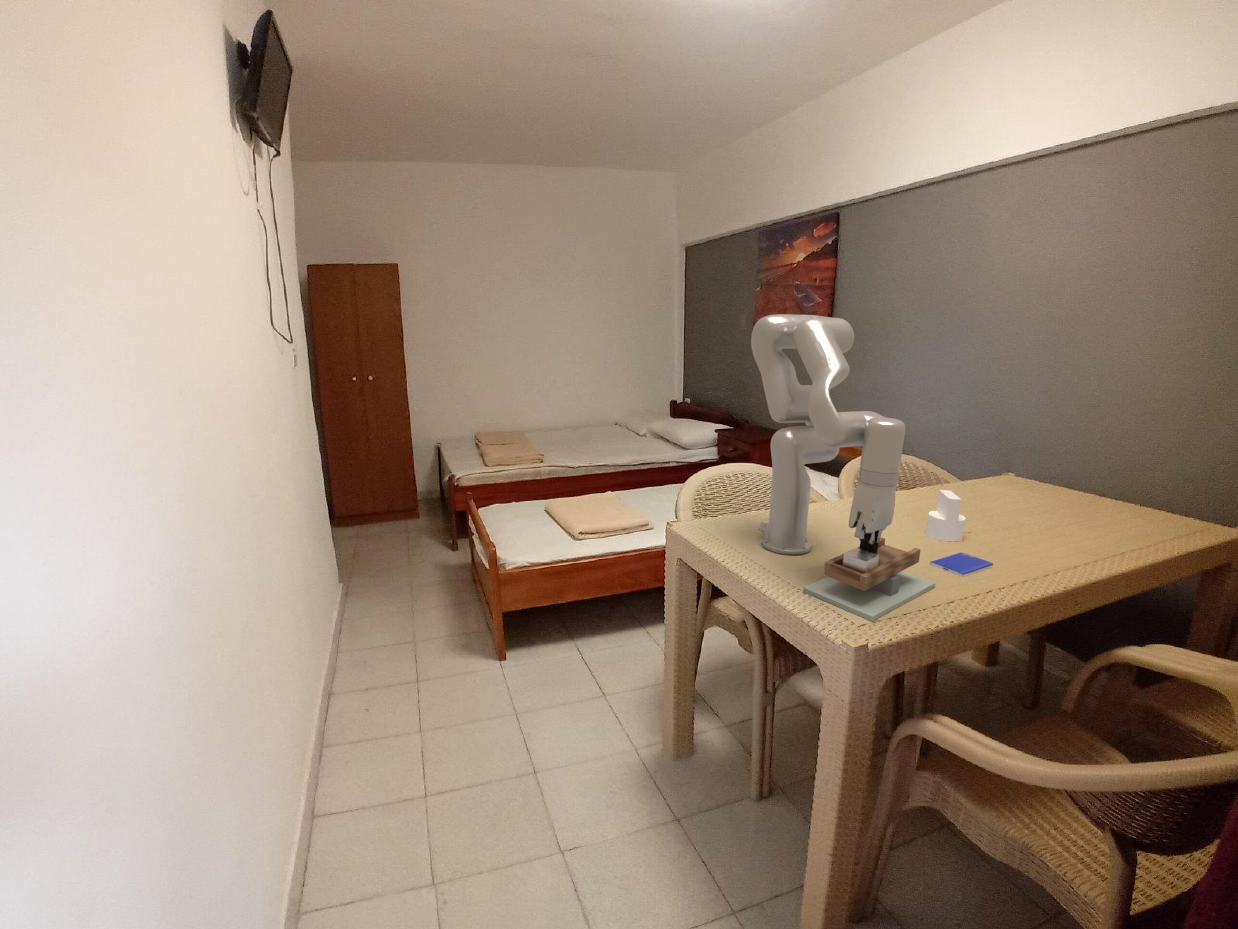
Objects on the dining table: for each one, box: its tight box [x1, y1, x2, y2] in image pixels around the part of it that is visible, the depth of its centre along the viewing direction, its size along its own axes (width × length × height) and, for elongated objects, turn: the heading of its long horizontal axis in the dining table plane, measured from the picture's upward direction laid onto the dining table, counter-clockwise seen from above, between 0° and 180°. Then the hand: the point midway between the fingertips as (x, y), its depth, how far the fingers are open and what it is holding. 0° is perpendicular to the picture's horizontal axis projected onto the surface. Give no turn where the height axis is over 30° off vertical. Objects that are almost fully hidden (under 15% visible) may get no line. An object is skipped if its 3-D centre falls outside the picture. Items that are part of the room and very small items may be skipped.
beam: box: [823, 536, 921, 591], centre depth 128 cm, size 22×9×3 cm, turn 127°
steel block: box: [843, 547, 879, 574], centre depth 123 cm, size 5×5×4 cm
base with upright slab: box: [925, 489, 967, 543], centre depth 162 cm, size 9×9×12 cm
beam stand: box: [802, 571, 936, 622], centre depth 129 cm, size 26×16×5 cm, turn 127°
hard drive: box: [929, 552, 994, 578], centre depth 143 cm, size 2×8×12 cm
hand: (867, 558), depth 127 cm, fingers closed
